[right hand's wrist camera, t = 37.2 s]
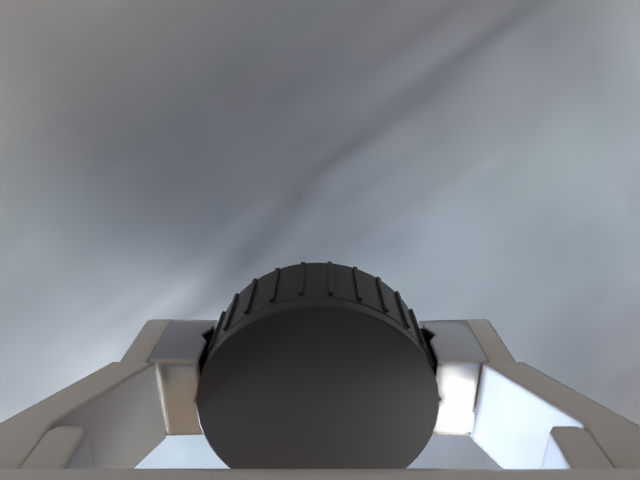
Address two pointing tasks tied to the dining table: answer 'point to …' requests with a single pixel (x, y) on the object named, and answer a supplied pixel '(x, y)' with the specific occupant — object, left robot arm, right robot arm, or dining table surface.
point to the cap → (317, 374)
